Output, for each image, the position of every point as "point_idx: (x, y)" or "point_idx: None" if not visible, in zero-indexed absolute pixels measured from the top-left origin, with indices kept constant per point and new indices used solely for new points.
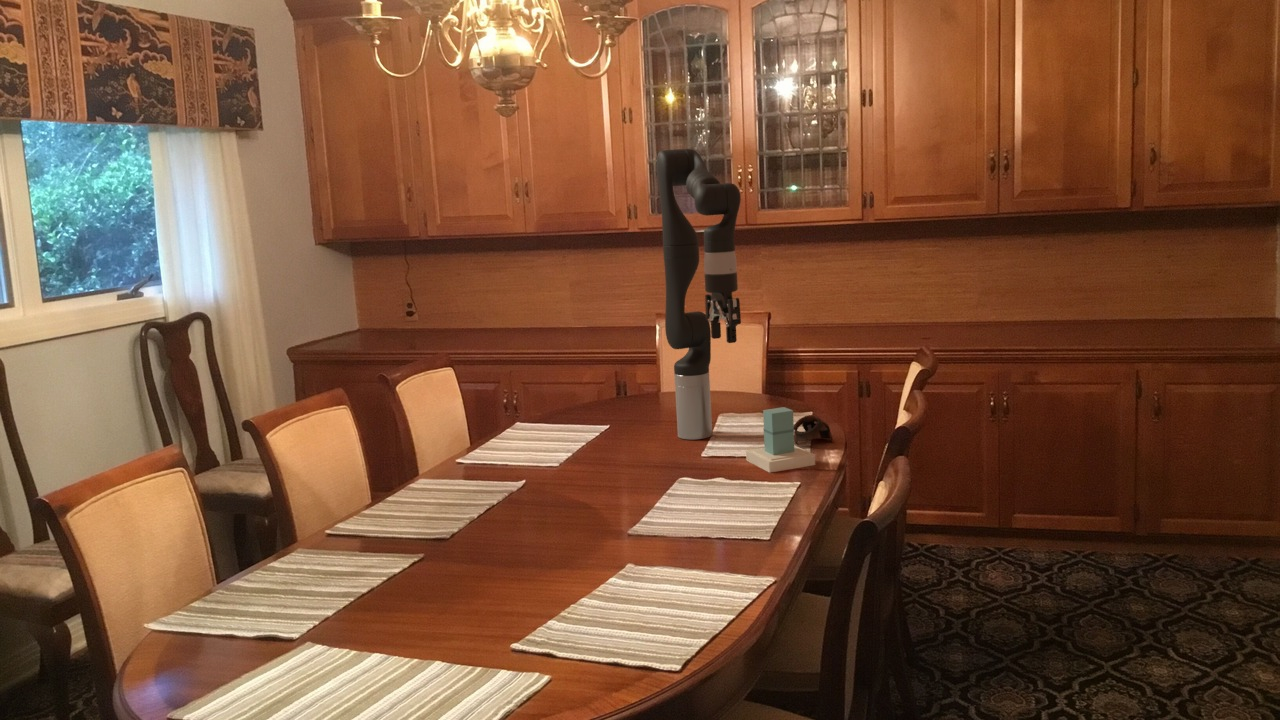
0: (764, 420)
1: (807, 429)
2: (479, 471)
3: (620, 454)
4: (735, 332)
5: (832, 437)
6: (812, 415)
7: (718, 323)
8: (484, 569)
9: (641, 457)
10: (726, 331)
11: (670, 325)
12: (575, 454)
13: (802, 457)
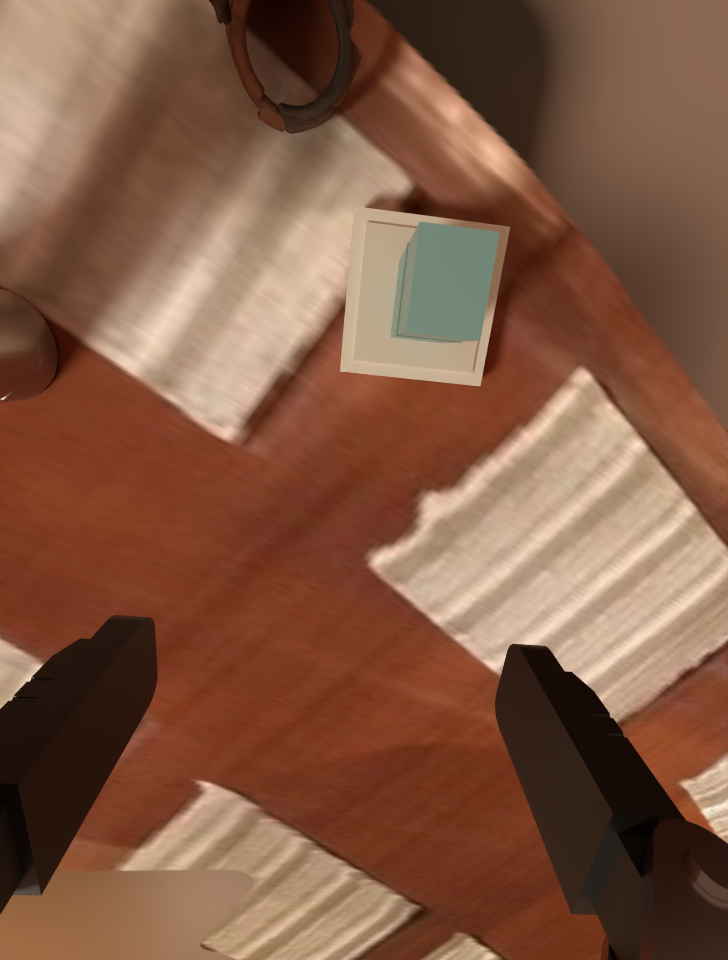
0: (408, 334)
1: (230, 11)
2: (96, 822)
3: (107, 588)
4: (636, 758)
5: None
6: None
7: (32, 797)
8: (560, 898)
9: (160, 562)
10: (552, 840)
11: None
12: None
13: (500, 275)
